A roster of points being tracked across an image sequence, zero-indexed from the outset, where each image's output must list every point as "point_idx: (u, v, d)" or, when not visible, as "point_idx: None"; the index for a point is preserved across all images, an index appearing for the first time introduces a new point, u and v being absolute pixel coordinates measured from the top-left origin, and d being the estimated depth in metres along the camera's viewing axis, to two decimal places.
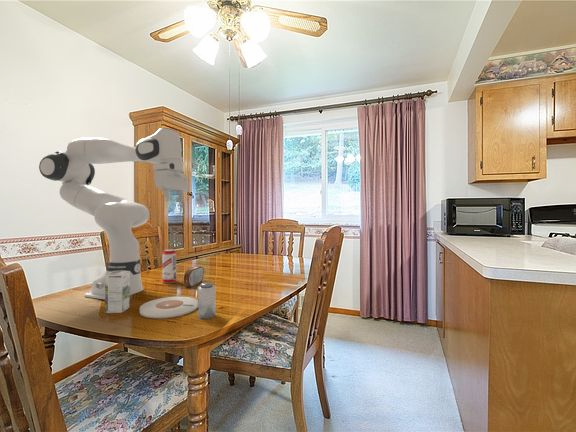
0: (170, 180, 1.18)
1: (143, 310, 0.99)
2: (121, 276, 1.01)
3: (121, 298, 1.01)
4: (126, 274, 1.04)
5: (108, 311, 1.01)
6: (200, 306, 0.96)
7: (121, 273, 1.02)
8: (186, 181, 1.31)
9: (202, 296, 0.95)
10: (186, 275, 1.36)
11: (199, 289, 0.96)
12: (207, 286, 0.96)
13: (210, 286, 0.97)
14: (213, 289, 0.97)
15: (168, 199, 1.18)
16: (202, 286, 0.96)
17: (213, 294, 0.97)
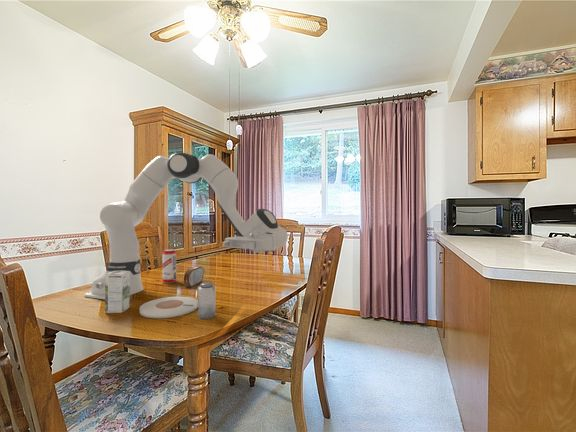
0: None
1: (143, 310, 0.99)
2: (121, 276, 1.01)
3: (121, 298, 1.01)
4: (126, 274, 1.04)
5: (108, 311, 1.01)
6: (200, 306, 0.96)
7: (121, 273, 1.02)
8: None
9: (202, 296, 0.95)
10: (186, 275, 1.36)
11: (199, 289, 0.96)
12: (207, 286, 0.96)
13: (210, 286, 0.97)
14: (213, 289, 0.97)
15: (245, 247, 1.05)
16: (202, 286, 0.96)
17: (213, 294, 0.97)
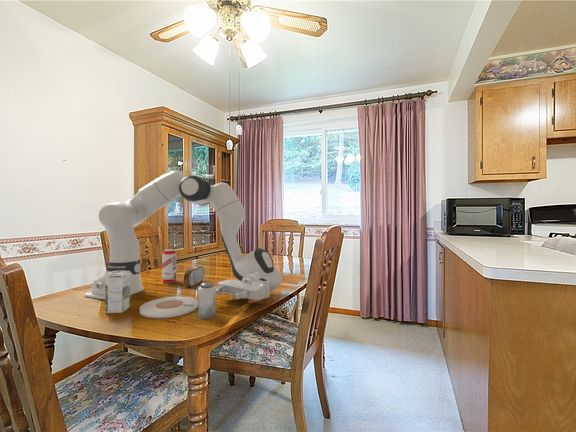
0: None
1: (143, 310, 0.99)
2: (121, 276, 1.01)
3: (121, 298, 1.01)
4: (126, 274, 1.04)
5: (108, 311, 1.01)
6: (200, 306, 0.96)
7: (121, 273, 1.02)
8: None
9: (202, 296, 0.95)
10: (186, 275, 1.36)
11: (199, 289, 0.96)
12: (207, 286, 0.96)
13: (210, 286, 0.97)
14: (213, 289, 0.97)
15: (237, 297, 1.02)
16: (202, 286, 0.96)
17: (213, 294, 0.97)
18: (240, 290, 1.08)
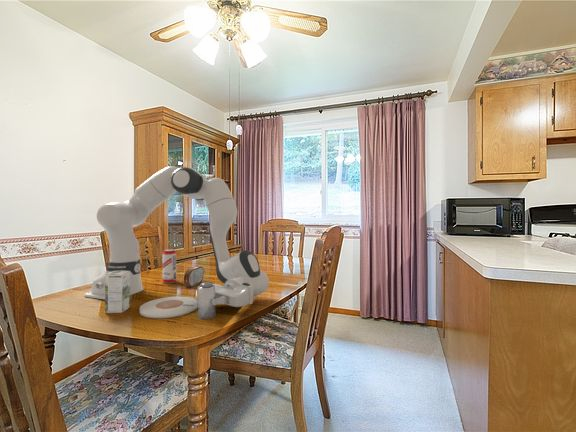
0: None
1: (143, 310, 0.99)
2: (121, 276, 1.01)
3: (121, 298, 1.01)
4: (126, 274, 1.04)
5: (108, 311, 1.01)
6: (200, 306, 0.96)
7: (121, 273, 1.02)
8: None
9: (202, 296, 0.95)
10: (186, 275, 1.36)
11: (199, 289, 0.96)
12: (207, 286, 0.96)
13: (210, 286, 0.97)
14: (213, 289, 0.97)
15: (214, 303, 0.95)
16: (202, 286, 0.96)
17: (213, 294, 0.97)
18: (221, 296, 1.00)
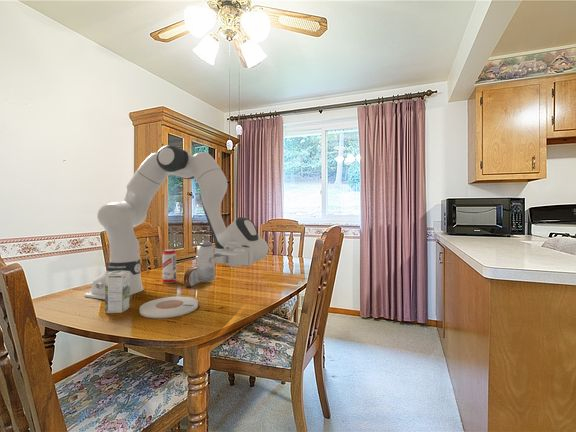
0: None
1: (143, 310, 0.99)
2: (121, 276, 1.01)
3: (121, 298, 1.01)
4: (126, 274, 1.04)
5: (108, 311, 1.01)
6: (199, 265, 0.95)
7: (121, 273, 1.02)
8: None
9: (201, 254, 0.95)
10: (186, 275, 1.36)
11: (198, 248, 0.95)
12: (206, 245, 0.96)
13: (209, 245, 0.96)
14: (212, 248, 0.96)
15: (214, 262, 0.95)
16: (201, 245, 0.96)
17: (212, 253, 0.96)
18: (220, 256, 1.00)
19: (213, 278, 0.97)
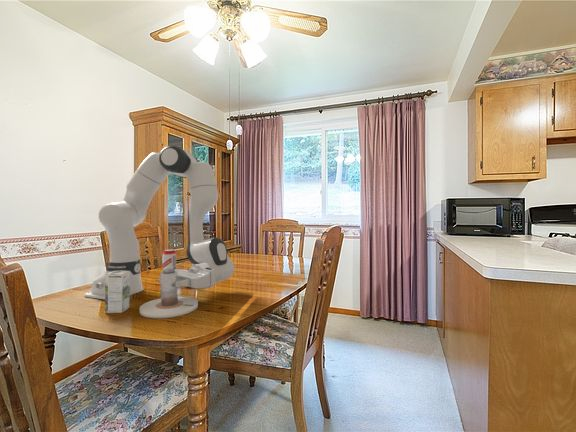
0: None
1: (143, 310, 0.99)
2: (121, 276, 1.01)
3: (121, 298, 1.01)
4: (126, 274, 1.04)
5: (108, 311, 1.01)
6: (162, 291, 1.03)
7: (121, 273, 1.02)
8: None
9: (164, 281, 1.03)
10: None
11: (161, 275, 1.03)
12: (169, 272, 1.03)
13: (172, 272, 1.04)
14: (175, 275, 1.04)
15: (178, 285, 1.02)
16: (164, 272, 1.03)
17: (175, 279, 1.04)
18: (184, 279, 1.08)
19: (176, 302, 1.05)
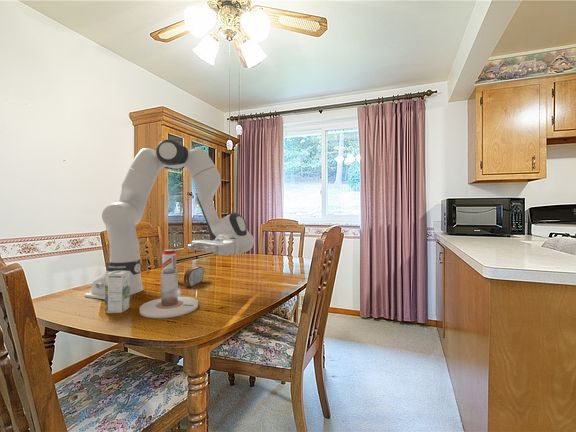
0: None
1: (143, 310, 0.99)
2: (121, 276, 1.01)
3: (121, 298, 1.01)
4: (126, 274, 1.04)
5: (108, 311, 1.01)
6: (162, 291, 1.03)
7: (121, 273, 1.02)
8: None
9: (164, 281, 1.03)
10: (186, 275, 1.36)
11: (161, 275, 1.03)
12: (169, 272, 1.03)
13: (172, 272, 1.04)
14: (175, 275, 1.04)
15: (207, 250, 1.12)
16: (164, 272, 1.03)
17: (175, 279, 1.04)
18: (211, 246, 1.18)
19: (176, 303, 1.05)
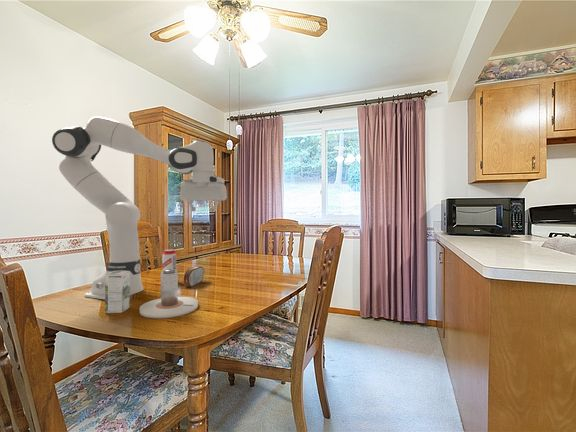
0: None
1: (143, 310, 0.99)
2: (121, 276, 1.01)
3: (121, 298, 1.01)
4: (126, 274, 1.04)
5: (108, 311, 1.01)
6: (162, 291, 1.03)
7: (121, 273, 1.02)
8: None
9: (164, 281, 1.03)
10: (186, 275, 1.36)
11: (161, 275, 1.03)
12: (169, 272, 1.03)
13: (172, 272, 1.04)
14: (175, 275, 1.04)
15: (215, 209, 1.30)
16: (164, 272, 1.03)
17: (175, 279, 1.04)
18: None
19: (176, 303, 1.05)
